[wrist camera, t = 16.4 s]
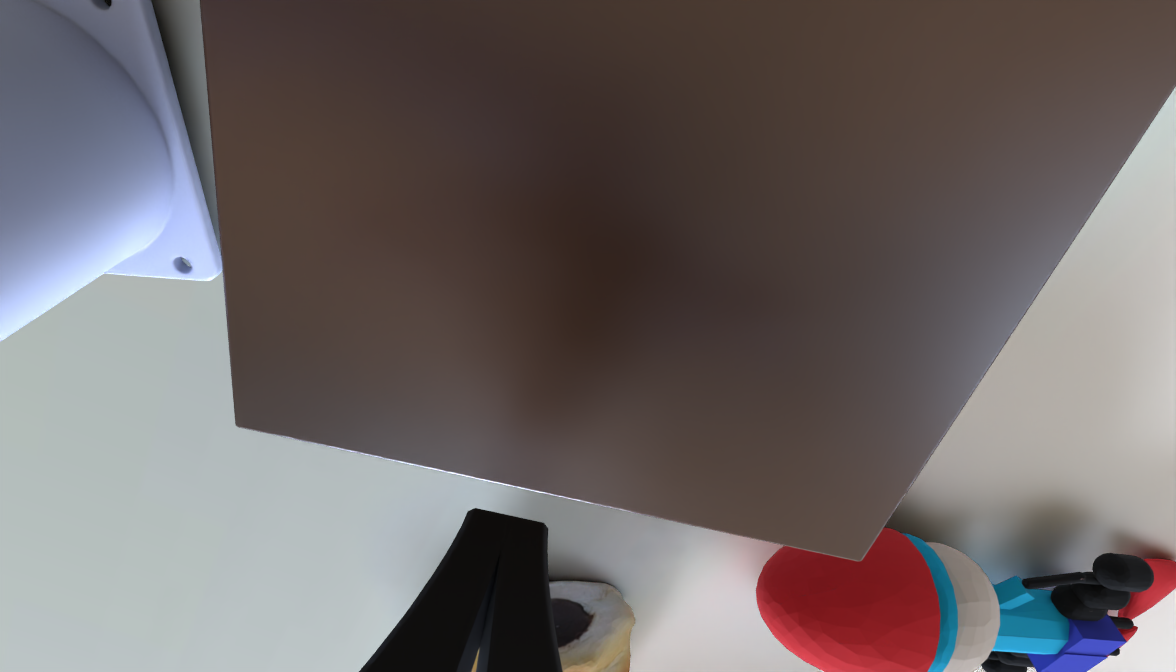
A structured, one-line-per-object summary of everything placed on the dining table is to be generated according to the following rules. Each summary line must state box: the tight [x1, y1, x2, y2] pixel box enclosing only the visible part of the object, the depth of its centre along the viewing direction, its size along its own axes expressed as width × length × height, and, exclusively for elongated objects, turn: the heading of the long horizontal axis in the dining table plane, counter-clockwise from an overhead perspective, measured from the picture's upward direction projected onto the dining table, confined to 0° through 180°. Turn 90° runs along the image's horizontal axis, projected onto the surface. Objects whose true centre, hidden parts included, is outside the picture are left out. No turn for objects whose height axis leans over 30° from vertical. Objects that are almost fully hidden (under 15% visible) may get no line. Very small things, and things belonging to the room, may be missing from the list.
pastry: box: [472, 581, 635, 672], centre depth 27 cm, size 9×7×4 cm
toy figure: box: [756, 527, 1176, 672], centre depth 23 cm, size 8×5×15 cm
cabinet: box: [200, 0, 1176, 561], centre depth 13 cm, size 14×12×8 cm
